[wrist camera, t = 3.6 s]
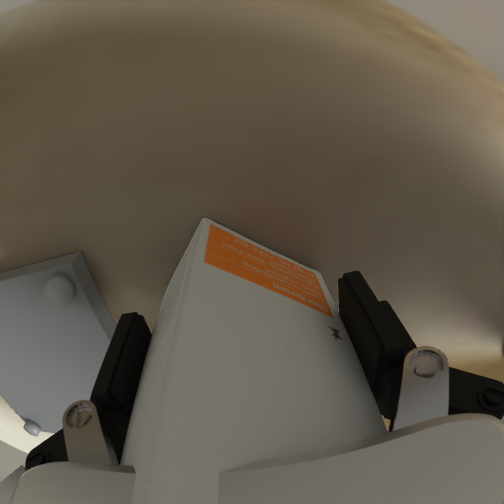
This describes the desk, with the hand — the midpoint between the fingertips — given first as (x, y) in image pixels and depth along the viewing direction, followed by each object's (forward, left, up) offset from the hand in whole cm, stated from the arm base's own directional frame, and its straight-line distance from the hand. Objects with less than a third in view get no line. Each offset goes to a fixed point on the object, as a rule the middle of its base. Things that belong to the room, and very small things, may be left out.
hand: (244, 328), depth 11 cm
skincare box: (0, 0, -4) cm, 4 cm away
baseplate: (+14, +4, -3) cm, 15 cm away
